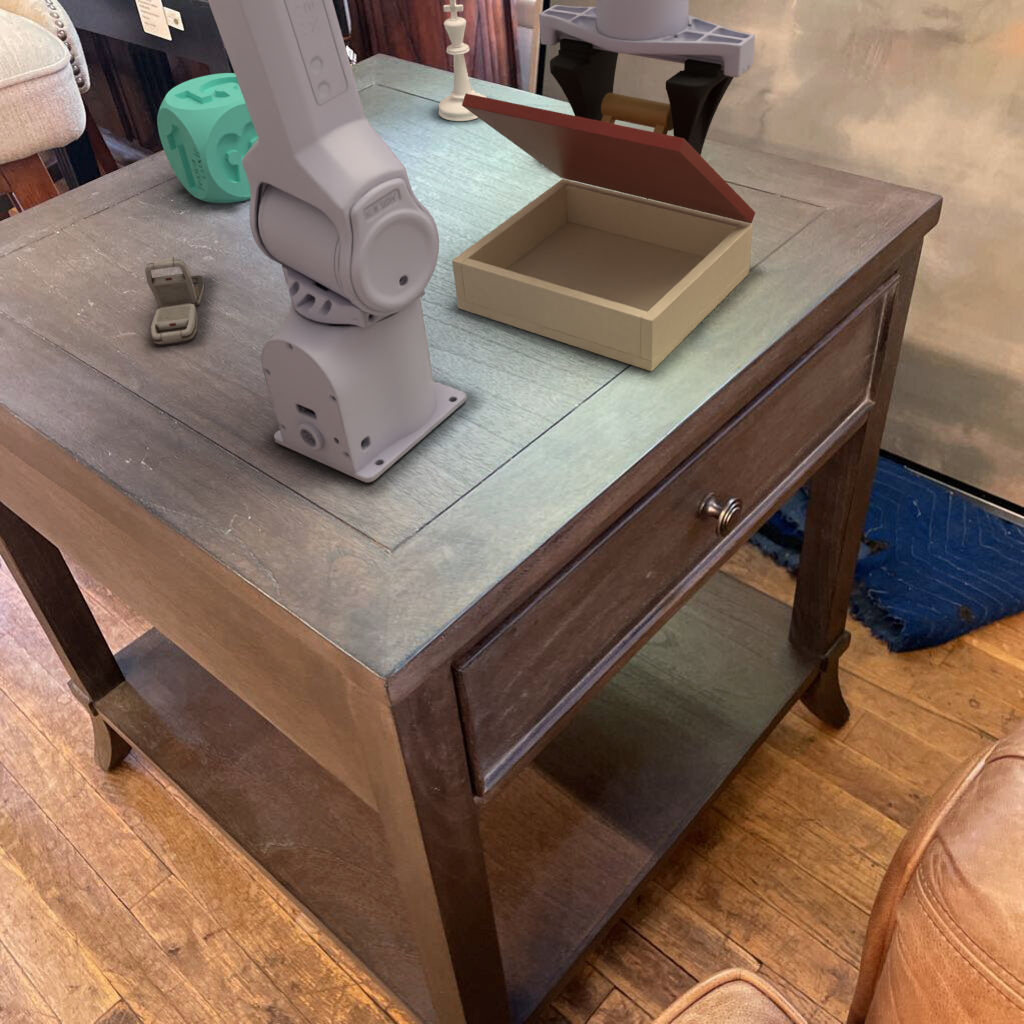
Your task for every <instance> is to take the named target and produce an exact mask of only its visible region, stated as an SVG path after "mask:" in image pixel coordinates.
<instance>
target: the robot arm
mask: <svg viewBox="0 0 1024 1024" xmlns="http://www.w3.org/2000/svg"><path fill="white" fill-rule="evenodd" d="M207 1H208V4H209V7H210V11H211V13H212V16H213V18H214V21H215V23H216V26H217V29H218V32H219V34H220V37H221V40H222V42H223V46H224V48H225V52H226V54H227V56H228V59H229V62H230V64H231V68H232V70H233V73H235V76H236V78H237V81H238V84H239V87H240V89H241V92H242V95H243V98H244V100H245V103H246V106H247V109H248V111H249V114H250V117H251V119H252V122H253V125H254V128H255V130H256V133H257V136H258V139H257V141H256V142H255V143H254V144H253V145H252V147H251V148H250V149H249V151H248V152H247V153H246V155H245V156H244V158H243V160H242V165H243V167H244V170H245V172H246V175H247V178H248V182H249V185H250V194H251V199H249V200H250V202H249V203H250V204H249V227H250V231H251V235H252V237H253V240H254V242H255V244H256V245H257V247H258V249H259V250H260V251H261V252H262V253H263V255H264V256H266V257H267V258H268V259H270V260H272V261H273V262H275V263H277V264H279V265H281V269H282V273H283V276H284V281H285V284H286V285H287V287H288V294H289V298H290V305H289V308H288V309H289V310H288V312H287V314H286V316H285V318H284V320H283V322H282V324H281V325H280V327H279V328H278V329H277V330H276V332H274V334H273V335H272V336H271V337H270V338H269V339H268V340H267V341H266V342H265V343H264V344H263V347H262V349H261V356H260V361H261V362H260V363H261V368H262V372H263V375H264V379H265V383H266V386H267V390H268V393H269V397H270V400H271V404H272V407H273V411H274V414H275V417H276V421H277V424H278V428H279V429H278V430H277V431H276V432H275V433H274V435H273V438H274V441H275V443H276V444H278V445H281V446H282V447H285V448H287V449H290V450H292V451H294V452H296V453H298V454H300V455H303V456H305V457H307V458H310V459H312V460H314V461H316V462H318V463H320V464H322V465H325V466H328V467H330V468H332V469H333V470H336V471H339V472H341V473H343V474H346V475H347V476H350V477H353V478H355V479H356V480H358V481H361V482H364V483H373V482H374V481H375V480H377V479H378V478H379V477H380V476H381V475H383V474H384V473H385V472H386V471H387V470H388V469H390V468H391V467H392V466H393V465H394V464H395V463H396V462H398V461H399V460H400V459H401V458H402V457H403V456H404V455H406V454H407V453H408V452H409V451H410V450H412V449H413V448H414V447H415V446H416V445H417V444H418V443H419V442H421V440H423V439H425V437H427V436H428V435H429V433H431V432H432V431H433V430H434V429H436V428H437V427H438V426H439V425H440V424H441V423H443V422H444V421H445V420H446V419H447V418H448V417H449V416H451V414H453V413H454V412H455V411H456V410H457V409H458V408H460V407H461V406H462V405H463V404H464V403H466V401H467V394H466V392H465V391H462V390H460V389H457V388H455V387H452V386H448V385H447V384H443V383H442V382H438V381H435V380H434V376H433V370H432V362H431V357H430V350H429V344H428V337H427V332H426V324H425V318H424V313H423V306H422V300H421V298H423V297H424V296H425V295H426V291H425V289H426V288H427V287H428V285H429V283H430V281H431V280H432V277H433V275H434V272H435V270H436V267H437V263H438V259H439V253H440V236H439V231H438V226H437V223H436V221H435V218H434V217H433V215H432V214H431V211H430V210H429V209H428V208H427V207H426V206H425V205H424V204H423V203H422V202H420V200H419V199H418V197H417V195H416V194H415V193H414V191H413V188H412V186H411V183H410V180H409V175H408V172H407V171H408V170H407V169H406V167H405V165H404V164H403V162H402V161H401V160H400V159H399V158H398V156H397V155H396V154H395V153H394V151H393V150H392V148H390V146H389V145H388V143H386V141H384V139H383V138H382V137H381V136H380V135H379V133H378V132H377V131H376V130H375V129H374V128H373V126H372V124H371V123H370V122H369V120H368V119H367V117H366V116H365V112H364V108H363V104H362V101H361V98H360V94H359V90H358V87H357V83H356V80H355V76H354V72H353V68H352V66H351V62H350V58H349V54H348V52H347V48H346V44H345V41H344V37H343V34H342V30H341V27H340V22H339V19H338V15H337V12H336V9H335V5H334V2H333V0H207ZM689 11H690V0H595V6H571V5H561V4H555V5H553V6H550V7H549V8H547V9H545V10H544V11H542V12H540V13H539V14H538V23H539V38H540V39H539V40H540V44H541V45H544V46H545V45H546V46H555V45H558V44H559V49H558V51H557V52H558V53H557V55H556V56H554V57H552V58H551V59H550V60H549V70H550V74H551V76H553V78H554V79H555V81H556V82H557V84H558V85H559V87H560V88H561V90H562V92H563V94H564V95H565V97H566V99H567V101H568V103H569V106H570V108H571V109H572V112H573V114H574V115H573V116H578V117H583V118H588V119H592V120H597V121H601V120H602V117H603V116H602V113H601V104H602V100H603V98H604V96H605V95H606V94H607V93H614V84H615V77H616V69H617V64H618V63H617V62H618V57H619V54H624V55H630V56H636V57H643V58H647V59H653V60H660V61H666V62H671V63H677V64H684V65H683V67H684V68H683V70H679V71H677V72H676V73H675V74H674V75H672V76H671V77H669V78H668V79H667V80H666V81H665V90H666V91H665V92H666V94H667V98H668V103H669V104H670V108H671V113H672V121H673V129H672V132H673V136H675V137H680V138H684V139H685V140H686V141H687V142H688V143H689V144H690V145H691V146H692V147H693V148H694V149H695V150H696V152H697V153H698V154H699V155H700V156H701V157H702V151H703V148H704V144H705V142H706V138H707V135H708V132H709V129H710V127H711V124H712V121H713V119H714V116H715V114H716V112H717V109H718V107H719V105H720V104H721V101H722V99H723V97H724V96H725V93H726V92H727V90H728V88H729V86H730V85H731V83H732V81H733V80H734V79H735V78H739V77H741V76H743V75H744V74H745V73H746V72H748V71H749V70H750V69H752V67H754V55H755V54H754V53H755V41H756V36H755V34H753V33H747V32H742V31H738V30H734V29H731V28H729V27H725V26H722V25H719V24H717V23H713V22H710V21H708V20H704V19H702V18H699V17H697V16H693V15H690V14H689Z"/></svg>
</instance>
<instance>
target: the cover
mask: <svg viewBox="0 0 1024 1024" xmlns="http://www.w3.org/2000/svg"><path fill="white" fill-rule="evenodd" d="M486 97H487V96H486ZM486 97H481V96H476V95H471V94H465V97H464V100H463V103H462V106H463V107H465V108H466V109H467V110H469V111H470V112H471V113H473V114H474V115H476V116H477V117H478V118H477V119H479V120H481V121H483V123H485V124H487V125H488V126H489V127H491V128H492V129H493V130H495V131H496V132H498V133H499V134H500V135H501V136H503V137H504V138H506V139H507V140H508V141H510V142H511V143H513V144H514V145H515V146H516V147H518V148H519V149H520V150H522V151H523V152H525V153H526V154H528V155H529V156H530V157H531V158H532V159H534V160H536V161H537V162H538V163H540V164H541V165H543V166H544V167H545V168H546V169H548V170H550V172H552V173H554V174H555V175H556V176H558V177H559V178H560V179H566V180H570V181H573V182H578V183H582V184H586V185H590V186H594V187H598V188H603V189H607V190H611V191H615V192H619V193H623V194H627V195H632V196H636V197H640V198H644V199H648V200H652V201H656V202H661V203H665V204H669V205H673V206H677V207H681V208H685V209H690V210H694V211H698V212H702V213H706V214H710V215H715V216H719V217H723V218H727V219H731V220H735V221H739V222H744V223H749V224H752V223H753V220H754V218H755V215H756V211H755V210H754V209H753V208H752V207H751V206H750V205H749V204H748V203H747V202H746V201H745V200H744V199H743V198H742V197H741V196H740V195H739V194H738V193H737V192H736V191H735V190H734V189H733V188H732V186H730V184H728V182H727V181H726V180H725V179H724V178H723V177H722V176H721V175H720V174H719V173H718V172H717V171H716V170H715V169H714V168H713V167H712V165H710V164H709V163H708V162H707V160H706V159H704V157H703V156H702V155H701V156H700V155H699V154H698V153H697V152H696V150H695V149H694V148H693V147H692V146H691V145H690V144H689V143H688V142H687V141H686V140H685V139H684V138H680V137H675V136H674V135H670V134H668V133H669V132H670V131H673V121H672V113H671V108H670V103H667V102H663V101H656V100H650V99H647V98H640V97H636V96H630V95H626V94H625V95H624V94H620V93H615V92H613V93H607V94H606V95H605V96H604V98H603V100H602V104H601V113H602V116H603V117H602V120H601V121H597V120H592V119H588V118H583V117H578V116H575V115H573V114H568V113H562V112H558V111H554V110H549V109H543V108H538V107H534V106H529V105H526V104H525V105H524V104H520V103H514V102H510V101H504V100H501V99H500V100H499V99H495V98H490V97H487V98H486ZM616 121H619V122H625V123H629V124H634V125H639V126H644V127H649V128H654V129H653V131H649V130H645V129H640V128H635V127H631V126H627V125H621V124H617V123H616Z"/></svg>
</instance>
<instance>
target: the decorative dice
mask: <svg viewBox="0 0 1024 1024" xmlns="http://www.w3.org/2000/svg"><path fill="white" fill-rule="evenodd" d="M156 123H157V131H158V135H159V139H160V140H159V141H160V143H161V146H162V148H163V152H164V154H165V157H166V159H167V160H168V163H169V165H170V167H171V168H172V170H173V173H174V174H175V176H176V177H177V179H178V180H179V182H180V183H181V185H182V187H184V188H185V190H186V191H187V192H188V193H189V194H190V195H191V196H193V197H194V198H196V199H198V200H200V201H203V202H206V203H211V204H233V203H239V202H245V201H248V200H251V194H250V185H249V182H248V178H247V175H246V172H245V170H244V167H243V165H242V160H243V158H244V156H245V155H246V153H247V152H248V151H249V149H250V148H251V147H252V145H253V144H254V143H255V142H256V141H257V139H258V136H257V133H256V130H255V128H254V125H253V122H252V119H251V117H250V114H249V111H248V109H247V106H246V103H245V100H244V98H243V95H242V92H241V89H240V87H239V84H238V81H237V78H236V76H235V73H234V72H223V73H213V74H208V75H207V74H206V75H203V76H199V77H194V78H192V79H189V80H186V81H183V82H181V83H180V84H178V85H176V86H174V87H172V88H170V90H168V92H167V93H166V94H165V96H164V98H163V100H162V102H161V104H160V106H159V108H158V112H157V117H156Z"/></svg>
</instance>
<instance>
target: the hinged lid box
mask: <svg viewBox="0 0 1024 1024" xmlns="http://www.w3.org/2000/svg"><path fill="white" fill-rule="evenodd" d="M753 231H754V224H752V223H746V222H742V221H738V220H734V219H730V218H726V217H722V216H717V215H713V214H709V213H705V212H701V211H697V210H692V209H688V208H684V207H680V206H676V205H672V204H668V203H663V202H659V201H655V200H651V199H647V198H643V197H638V196H634V195H630V194H626V193H622V192H618V191H614V190H609V189H605V188H601V187H597V186H593V185H589V184H584V183H580V182H576V181H572V180H568V179H564V178H561V179H560V180H559V181H557V182H556V183H555V184H553V185H552V186H551V187H549V188H548V189H547V190H545V191H544V192H543V193H542V194H540V195H538V196H537V197H536V198H535V199H532V201H530V202H529V203H528V204H527V205H525V206H523V207H522V208H521V209H519V210H517V212H515V213H514V214H513V215H511V216H510V217H508V218H507V219H506V220H505V221H503V222H502V223H500V224H499V225H497V226H496V227H495V228H494V229H492V230H491V231H489V233H487V234H486V235H484V236H483V237H482V238H480V239H479V240H478V241H476V242H475V243H473V244H472V245H471V246H470V247H468V248H467V249H466V250H464V251H462V252H461V253H459V255H456V257H454V258H453V259H452V260H451V263H452V265H451V266H452V271H453V278H454V287H455V294H456V301H457V308H458V309H459V310H463V311H464V312H465V311H466V312H468V313H472V314H474V315H478V316H481V317H484V318H486V319H490V320H492V321H495V322H499V323H502V324H505V325H508V326H511V327H514V328H517V329H520V330H523V331H525V332H526V331H527V332H530V333H533V334H536V335H539V336H541V337H545V338H548V339H551V340H554V341H557V342H560V343H563V344H566V345H569V346H572V347H575V348H578V349H581V350H583V351H584V350H585V351H586V352H590V353H593V354H596V355H600V356H602V357H606V358H609V359H612V360H614V361H618V362H621V363H624V364H627V365H630V366H633V367H636V368H639V369H643V370H645V371H648V372H653V371H654V370H655V369H656V368H657V367H658V366H659V365H660V364H661V363H662V362H663V361H664V360H665V359H666V358H667V357H668V356H669V355H670V354H671V353H672V352H673V351H674V350H675V349H676V348H677V347H678V346H679V345H680V344H681V343H682V342H683V340H685V339H686V338H687V337H688V336H689V334H691V333H692V331H693V330H695V328H696V327H697V326H698V325H699V324H701V323H702V321H704V319H705V318H706V317H707V316H709V315H710V313H711V312H713V311H714V310H715V308H717V307H718V305H720V304H721V302H723V300H725V299H726V298H727V296H728V295H729V294H730V293H731V292H733V290H734V289H735V288H736V287H737V286H739V284H740V283H742V281H743V280H744V279H745V278H746V277H747V276H748V275H749V274H750V266H751V265H750V264H751V256H752V255H751V254H752V243H753Z"/></svg>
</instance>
